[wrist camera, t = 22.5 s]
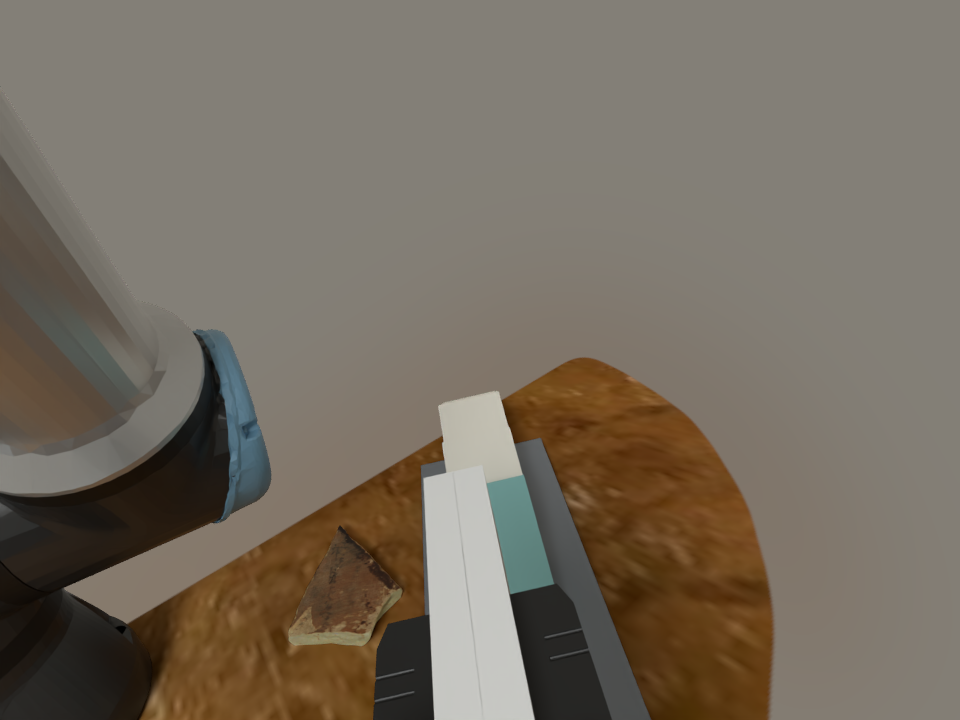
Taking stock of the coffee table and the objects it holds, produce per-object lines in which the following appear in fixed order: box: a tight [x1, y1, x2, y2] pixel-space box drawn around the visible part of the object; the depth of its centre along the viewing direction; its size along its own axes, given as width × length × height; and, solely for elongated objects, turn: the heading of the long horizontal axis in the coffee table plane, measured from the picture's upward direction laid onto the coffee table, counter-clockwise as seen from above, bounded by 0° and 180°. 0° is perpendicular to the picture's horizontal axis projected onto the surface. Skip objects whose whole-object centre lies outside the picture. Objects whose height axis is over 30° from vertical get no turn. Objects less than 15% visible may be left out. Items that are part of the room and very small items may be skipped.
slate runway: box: [421, 438, 651, 720], centre depth 41 cm, size 12×28×1 cm, turn 7°
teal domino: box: [487, 475, 554, 594], centre depth 38 cm, size 6×2×11 cm
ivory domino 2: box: [442, 427, 523, 483], centre depth 44 cm, size 6×2×11 cm
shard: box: [288, 526, 402, 646], centre depth 43 cm, size 11×8×2 cm
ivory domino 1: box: [438, 392, 508, 442], centre depth 50 cm, size 6×2×11 cm
